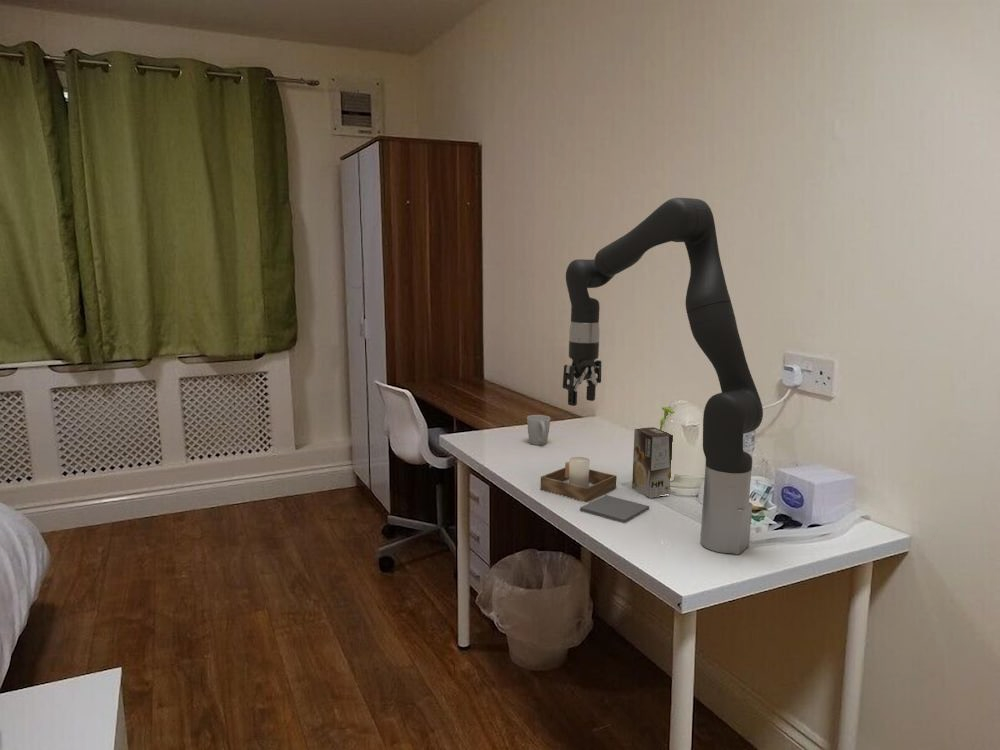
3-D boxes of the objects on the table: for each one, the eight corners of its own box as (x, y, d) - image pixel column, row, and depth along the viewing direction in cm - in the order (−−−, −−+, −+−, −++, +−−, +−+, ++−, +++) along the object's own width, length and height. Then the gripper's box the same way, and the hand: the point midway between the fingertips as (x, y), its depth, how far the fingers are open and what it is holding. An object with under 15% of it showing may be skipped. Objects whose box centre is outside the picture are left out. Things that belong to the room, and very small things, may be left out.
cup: (545, 439, 235) (546, 414, 234) (555, 447, 226) (555, 421, 224) (523, 440, 233) (524, 415, 232) (531, 448, 224) (532, 422, 222)
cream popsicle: (592, 489, 187) (593, 459, 185) (581, 494, 183) (582, 463, 181) (571, 483, 191) (572, 454, 189) (560, 488, 187) (561, 458, 185)
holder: (616, 488, 187) (616, 475, 187) (586, 502, 176) (587, 488, 176) (570, 477, 196) (571, 464, 195) (540, 489, 185) (540, 476, 185)
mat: (649, 509, 172) (649, 506, 172) (624, 523, 163) (624, 519, 163) (606, 497, 180) (606, 494, 180) (580, 510, 171) (580, 507, 171)
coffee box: (670, 496, 182) (674, 435, 179) (649, 498, 180) (652, 436, 177) (651, 485, 191) (654, 426, 188) (630, 487, 188) (633, 428, 186)
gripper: (581, 343, 172) (578, 409, 175) (611, 338, 183) (608, 400, 185) (555, 340, 176) (553, 404, 179) (586, 336, 187) (584, 396, 190)
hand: (581, 402), depth 182 cm, fingers open, 8 cm apart
